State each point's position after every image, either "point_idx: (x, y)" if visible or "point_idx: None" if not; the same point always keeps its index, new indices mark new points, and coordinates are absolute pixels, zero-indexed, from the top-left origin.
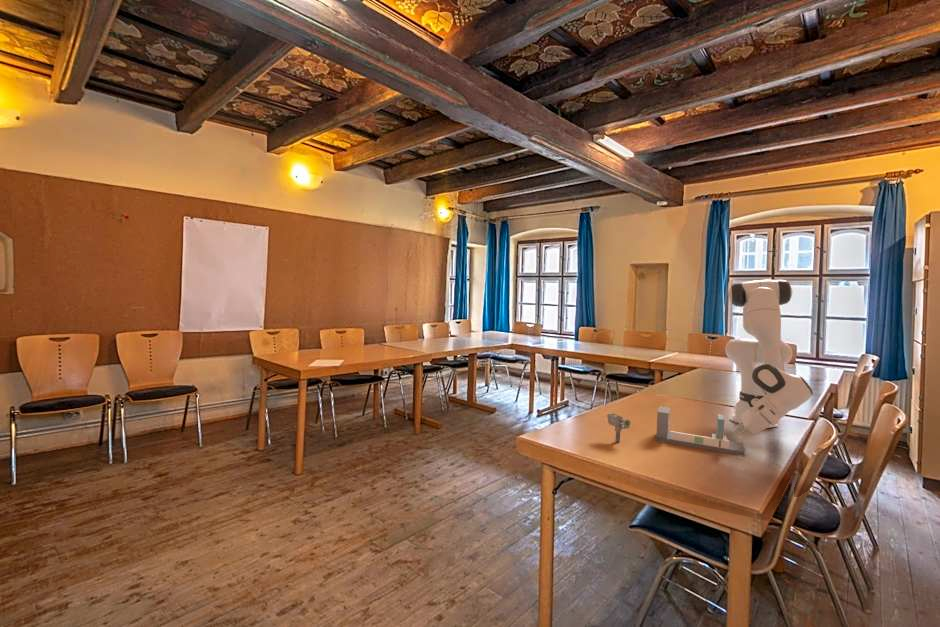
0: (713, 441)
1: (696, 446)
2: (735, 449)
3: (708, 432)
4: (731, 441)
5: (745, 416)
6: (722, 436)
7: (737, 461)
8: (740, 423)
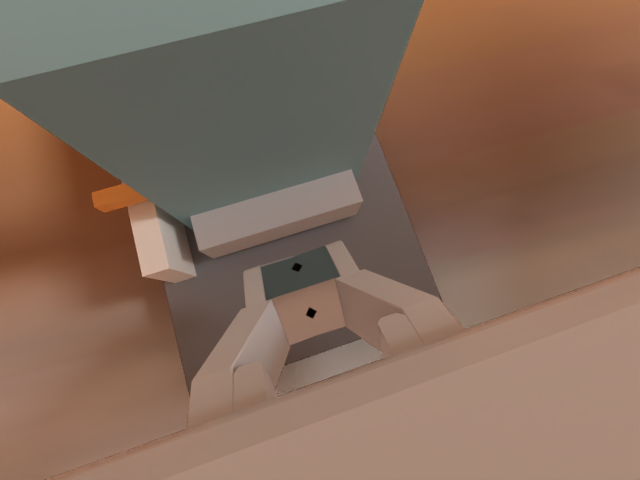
0: None
1: None
2: (208, 321)
3: (553, 64)
4: (400, 240)
5: (583, 421)
6: (158, 201)
7: (34, 384)
8: (398, 312)
